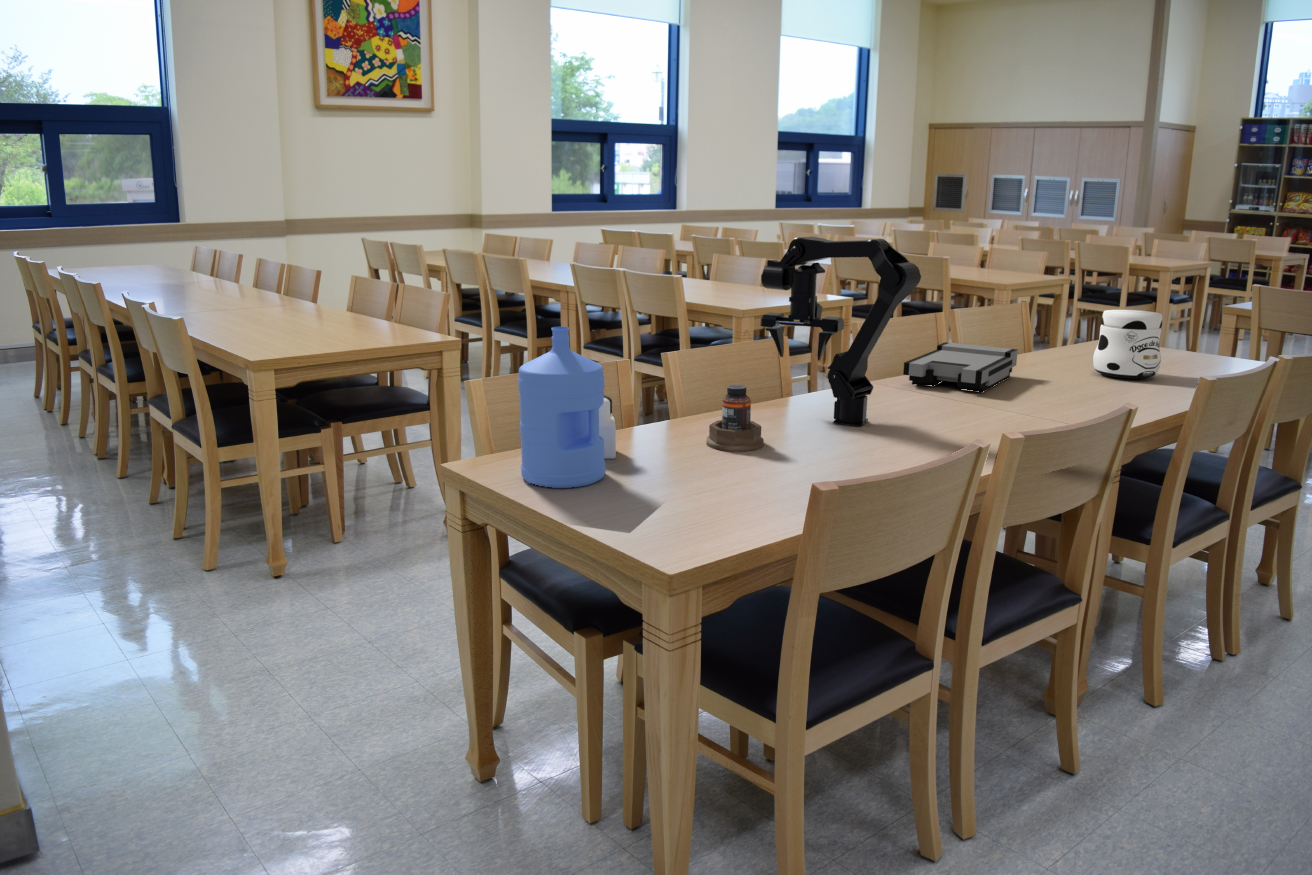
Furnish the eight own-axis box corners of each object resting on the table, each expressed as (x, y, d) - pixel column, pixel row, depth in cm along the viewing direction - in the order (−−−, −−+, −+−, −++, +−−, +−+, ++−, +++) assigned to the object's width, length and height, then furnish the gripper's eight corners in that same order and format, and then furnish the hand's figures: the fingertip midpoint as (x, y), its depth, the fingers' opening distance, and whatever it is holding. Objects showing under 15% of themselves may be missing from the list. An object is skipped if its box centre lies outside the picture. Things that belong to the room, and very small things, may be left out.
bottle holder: (771, 440, 207) (772, 422, 206) (751, 454, 196) (751, 435, 195) (719, 433, 212) (720, 416, 211) (697, 447, 202) (697, 428, 201)
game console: (902, 388, 261) (904, 358, 259) (942, 369, 286) (945, 342, 284) (979, 398, 249) (982, 366, 247) (1014, 378, 275) (1017, 349, 272)
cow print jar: (1154, 384, 265) (1163, 319, 260) (1086, 377, 274) (1093, 314, 269) (1161, 374, 279) (1170, 312, 274) (1097, 368, 288) (1104, 307, 283)
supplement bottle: (748, 435, 207) (749, 383, 204) (751, 442, 201) (753, 389, 198) (720, 435, 207) (721, 383, 204) (723, 442, 201) (724, 389, 198)
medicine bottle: (579, 450, 199) (578, 393, 196) (614, 449, 200) (614, 392, 197) (579, 459, 192) (578, 400, 189) (615, 459, 193) (615, 400, 190)
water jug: (505, 484, 177) (500, 331, 170) (545, 461, 191) (541, 319, 184) (583, 494, 172) (581, 337, 164) (618, 470, 186) (617, 324, 178)
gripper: (852, 291, 227) (848, 356, 231) (777, 286, 236) (774, 350, 240) (838, 296, 218) (835, 364, 222) (760, 291, 226) (758, 357, 230)
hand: (800, 358), depth 229 cm, fingers open, 9 cm apart
